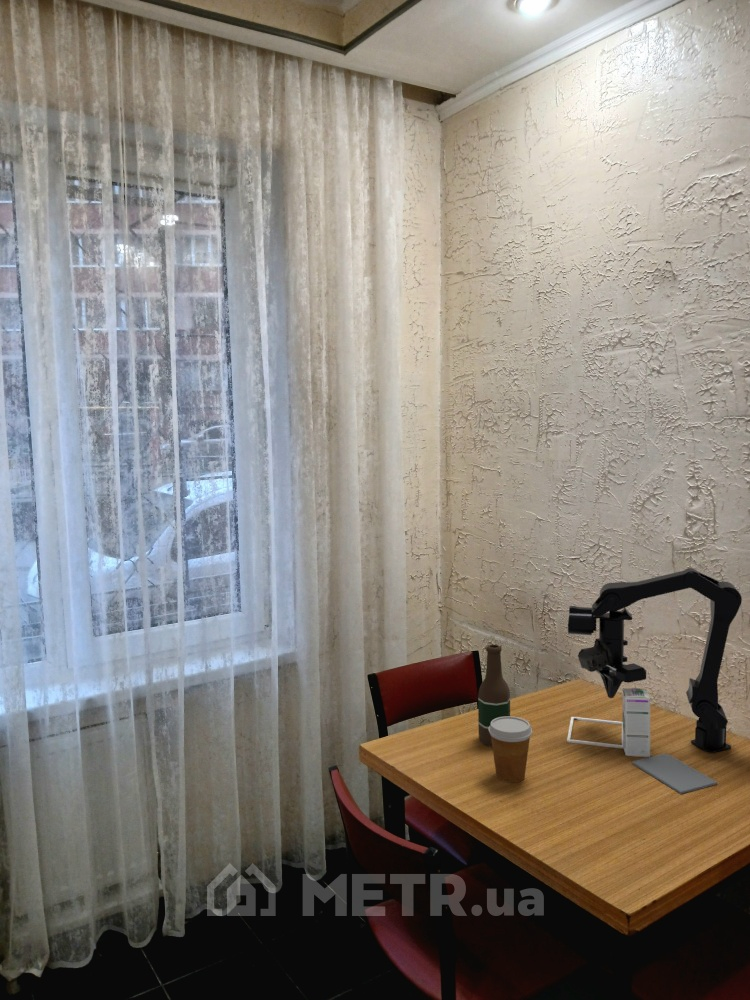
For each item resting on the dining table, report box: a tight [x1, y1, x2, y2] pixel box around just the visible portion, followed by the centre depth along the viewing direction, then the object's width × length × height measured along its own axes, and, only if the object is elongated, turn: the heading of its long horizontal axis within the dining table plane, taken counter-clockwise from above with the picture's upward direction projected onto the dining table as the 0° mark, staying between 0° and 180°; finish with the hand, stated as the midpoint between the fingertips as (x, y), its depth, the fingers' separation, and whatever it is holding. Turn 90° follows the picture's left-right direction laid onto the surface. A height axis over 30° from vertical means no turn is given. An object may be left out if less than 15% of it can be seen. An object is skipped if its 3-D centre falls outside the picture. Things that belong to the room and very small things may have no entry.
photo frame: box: [566, 716, 624, 750], centre depth 187 cm, size 15×1×18 cm
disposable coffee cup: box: [489, 715, 533, 783], centre depth 166 cm, size 10×10×12 cm
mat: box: [631, 752, 718, 795], centre depth 166 cm, size 10×15×1 cm, turn 22°
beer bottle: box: [477, 644, 511, 747], centre depth 184 cm, size 8×8×24 cm
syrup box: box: [622, 687, 651, 758], centre depth 177 cm, size 6×6×14 cm
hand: (610, 697), depth 185 cm, fingers closed
